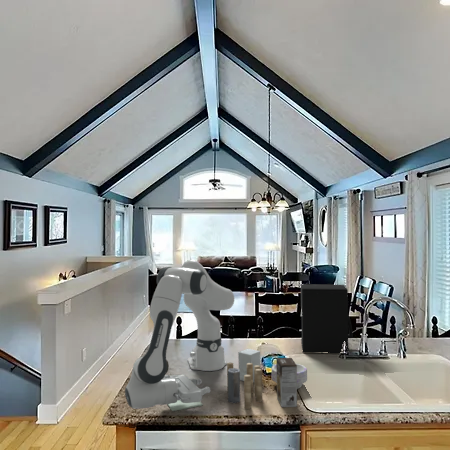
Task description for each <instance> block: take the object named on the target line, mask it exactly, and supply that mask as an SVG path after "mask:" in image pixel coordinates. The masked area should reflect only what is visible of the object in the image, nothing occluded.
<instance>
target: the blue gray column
mask: <svg viewBox="0 0 450 450" xmlns="http://www.w3.org/2000/svg"><path fill="white" fill-rule="evenodd" d="M227 401H228V403H232V404H237V403H240V401H241V380H240V369H239V368H235V367H233V368H232V369H228V393H227Z"/></svg>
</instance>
